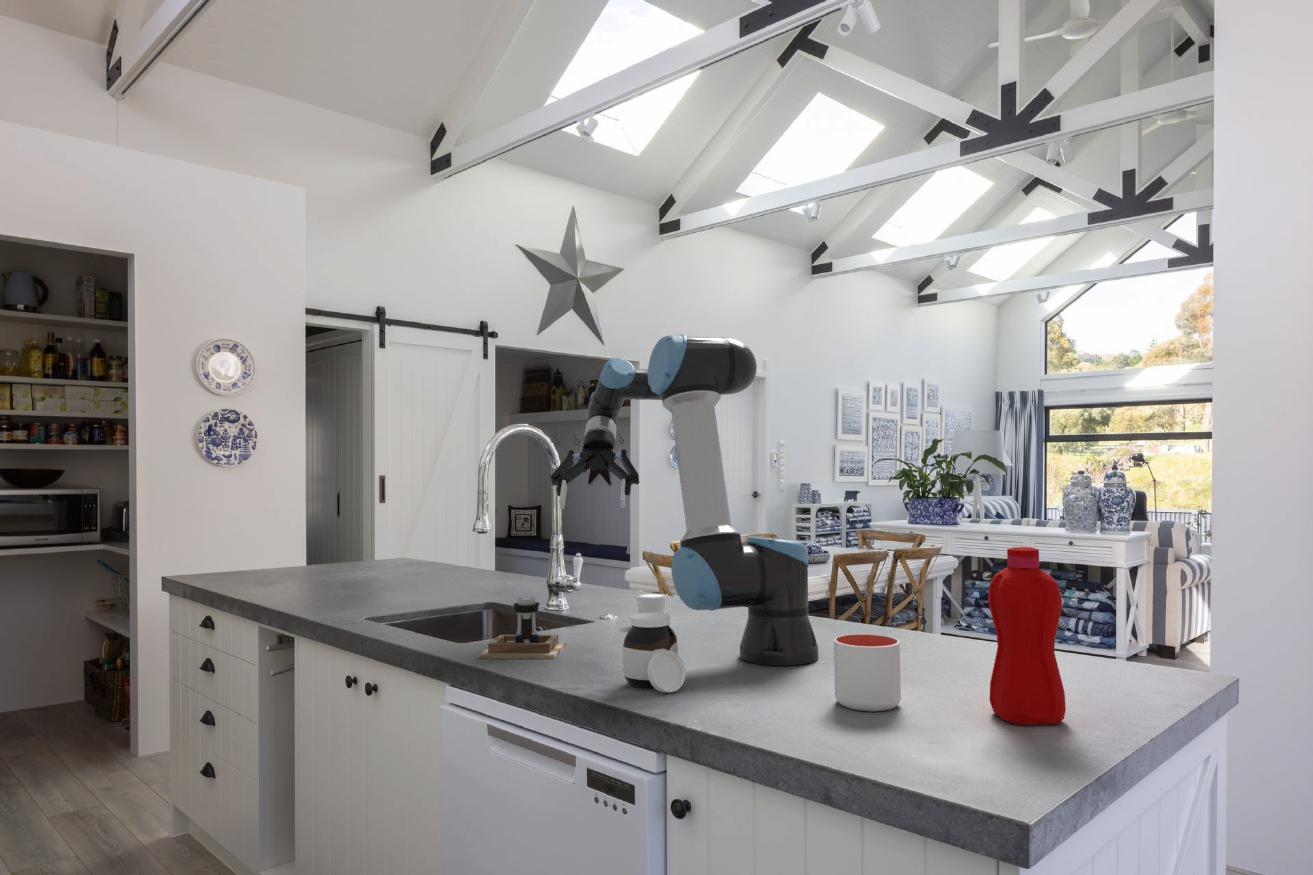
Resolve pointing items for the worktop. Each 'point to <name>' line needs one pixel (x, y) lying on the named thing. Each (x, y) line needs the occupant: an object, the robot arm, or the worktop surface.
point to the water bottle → (1026, 642)
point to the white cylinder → (651, 603)
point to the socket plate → (523, 648)
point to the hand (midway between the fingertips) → (591, 504)
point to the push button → (526, 620)
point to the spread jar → (652, 654)
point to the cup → (867, 672)
